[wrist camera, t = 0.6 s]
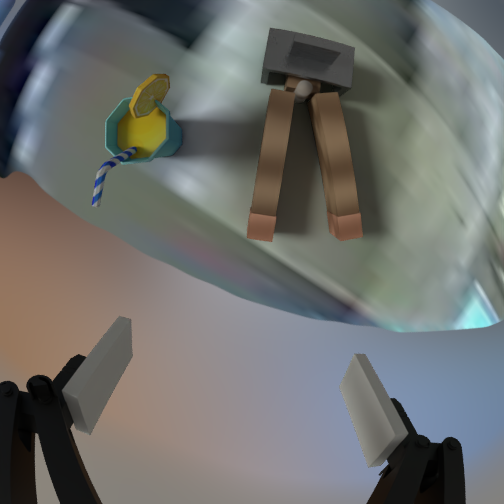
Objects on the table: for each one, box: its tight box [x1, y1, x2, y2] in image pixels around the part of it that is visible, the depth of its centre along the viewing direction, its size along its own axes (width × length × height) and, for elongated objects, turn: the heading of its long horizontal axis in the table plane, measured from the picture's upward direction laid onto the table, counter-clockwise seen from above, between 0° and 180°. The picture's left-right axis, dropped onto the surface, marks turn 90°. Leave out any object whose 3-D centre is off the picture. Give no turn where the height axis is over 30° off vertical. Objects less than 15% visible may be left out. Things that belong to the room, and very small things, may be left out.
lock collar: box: [261, 28, 355, 97], centre depth 27 cm, size 6×10×10 cm, turn 81°
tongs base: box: [247, 75, 321, 242], centre depth 32 cm, size 24×6×5 cm, turn 171°
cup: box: [92, 74, 182, 207], centre depth 27 cm, size 14×8×15 cm, turn 158°
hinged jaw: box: [307, 92, 363, 241], centre depth 33 cm, size 18×3×5 cm, turn 11°
